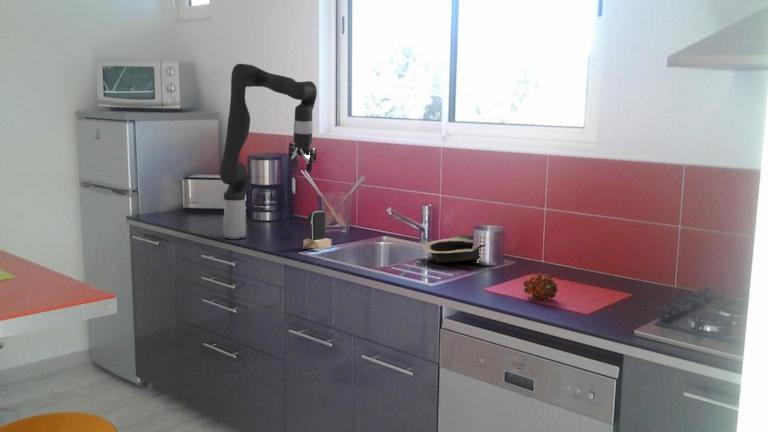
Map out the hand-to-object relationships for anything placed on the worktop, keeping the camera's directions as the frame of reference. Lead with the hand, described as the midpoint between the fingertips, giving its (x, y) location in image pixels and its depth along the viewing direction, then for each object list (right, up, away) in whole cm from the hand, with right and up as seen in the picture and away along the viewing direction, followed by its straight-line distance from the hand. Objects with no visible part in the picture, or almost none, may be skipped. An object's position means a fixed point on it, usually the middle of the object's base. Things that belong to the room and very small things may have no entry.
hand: (301, 170), depth 296 cm
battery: (+6, -28, -4) cm, 29 cm away
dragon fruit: (+82, -45, -75) cm, 120 cm away
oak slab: (+7, -32, -3) cm, 33 cm away
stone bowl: (+60, -37, -25) cm, 75 cm away
